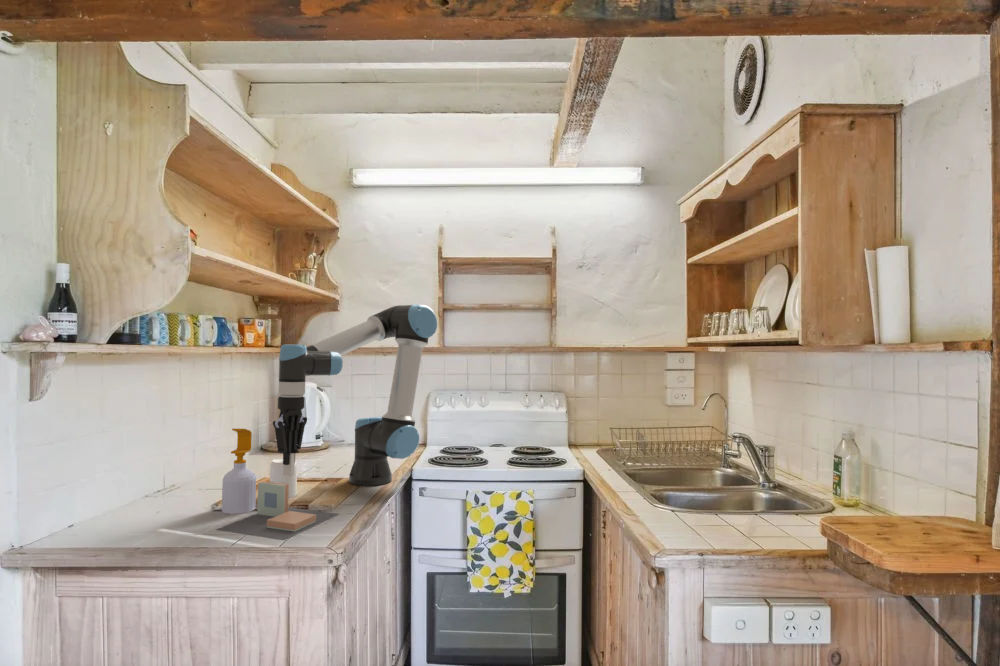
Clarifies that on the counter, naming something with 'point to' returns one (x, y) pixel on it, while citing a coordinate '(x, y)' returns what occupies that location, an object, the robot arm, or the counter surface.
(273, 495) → the tile
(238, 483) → the soap bottle
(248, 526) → the mat
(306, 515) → the tile
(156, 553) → the counter surface
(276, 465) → the beverage can
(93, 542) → the counter surface
